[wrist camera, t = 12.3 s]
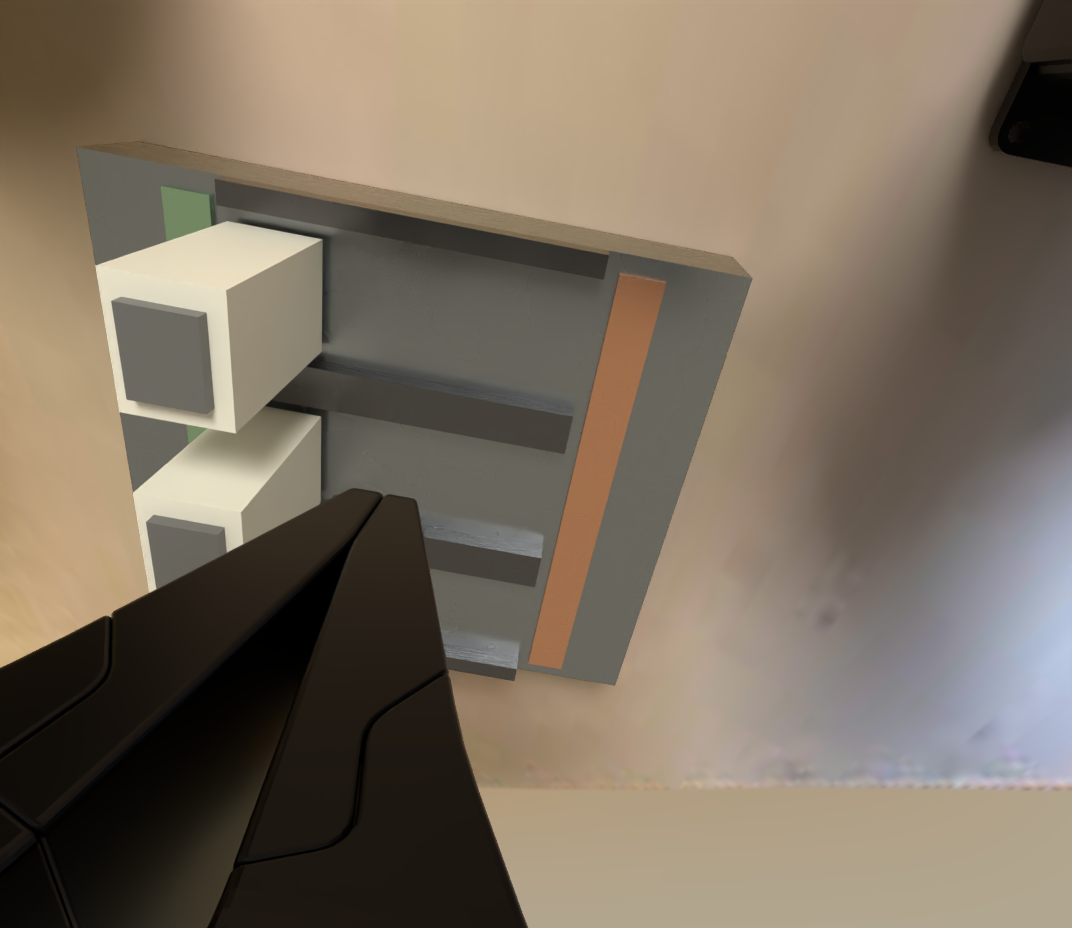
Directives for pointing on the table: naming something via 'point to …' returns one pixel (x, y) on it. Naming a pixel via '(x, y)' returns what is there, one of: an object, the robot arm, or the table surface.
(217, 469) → the block
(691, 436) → the breaker panel
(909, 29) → the table surface
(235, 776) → the robot arm
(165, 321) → the block
